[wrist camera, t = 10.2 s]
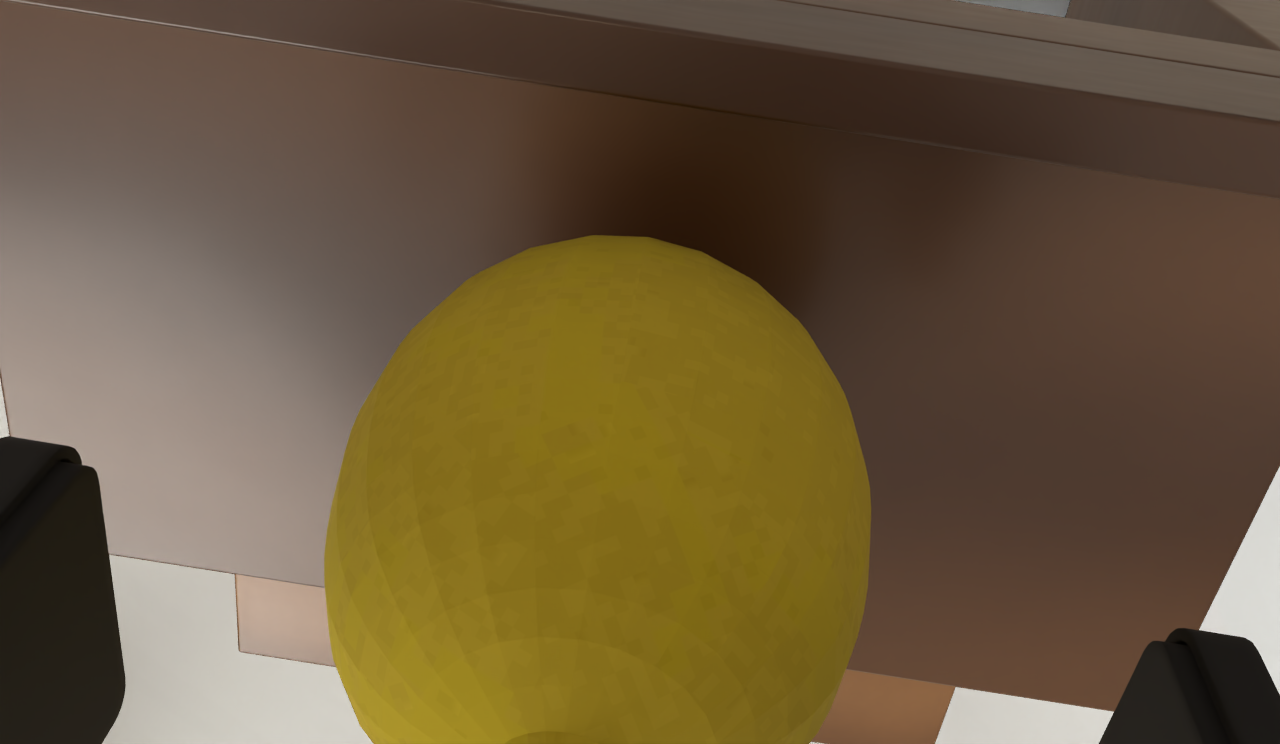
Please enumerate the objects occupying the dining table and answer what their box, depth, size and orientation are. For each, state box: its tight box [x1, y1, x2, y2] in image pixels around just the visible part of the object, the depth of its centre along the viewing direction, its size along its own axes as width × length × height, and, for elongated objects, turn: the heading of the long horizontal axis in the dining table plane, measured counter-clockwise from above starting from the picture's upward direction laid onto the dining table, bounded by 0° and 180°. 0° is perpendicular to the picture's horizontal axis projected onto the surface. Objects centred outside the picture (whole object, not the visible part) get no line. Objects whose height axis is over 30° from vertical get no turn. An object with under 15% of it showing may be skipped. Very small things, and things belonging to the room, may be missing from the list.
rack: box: [0, 0, 1280, 744], centre depth 23 cm, size 20×18×13 cm
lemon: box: [324, 235, 871, 744], centre depth 13 cm, size 6×6×8 cm
